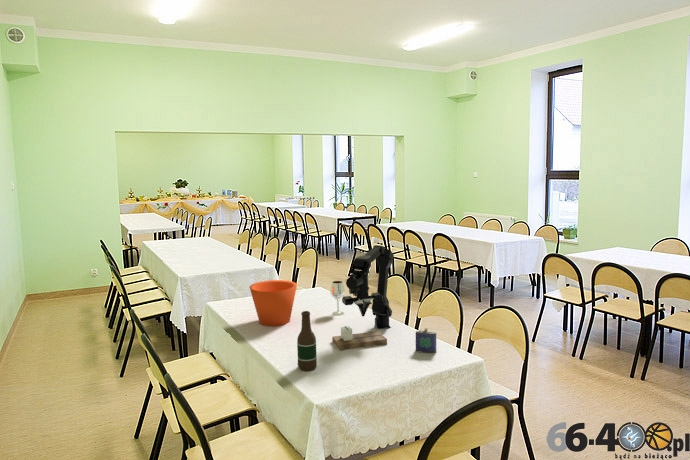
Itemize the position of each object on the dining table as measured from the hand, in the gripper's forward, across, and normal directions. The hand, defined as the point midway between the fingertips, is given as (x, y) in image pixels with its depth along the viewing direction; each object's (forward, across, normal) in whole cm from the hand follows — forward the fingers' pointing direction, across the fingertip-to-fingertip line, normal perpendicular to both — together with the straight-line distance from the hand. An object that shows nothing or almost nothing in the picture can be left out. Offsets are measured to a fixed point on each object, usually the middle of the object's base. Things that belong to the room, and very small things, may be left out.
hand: (363, 316), depth 242 cm
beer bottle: (+11, +33, +24) cm, 42 cm away
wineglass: (+12, 0, -44) cm, 46 cm away
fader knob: (+8, +10, +4) cm, 13 cm away
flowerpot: (+12, +36, -42) cm, 57 cm away
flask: (+12, -21, +24) cm, 34 cm away
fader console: (+11, +3, +4) cm, 12 cm away
